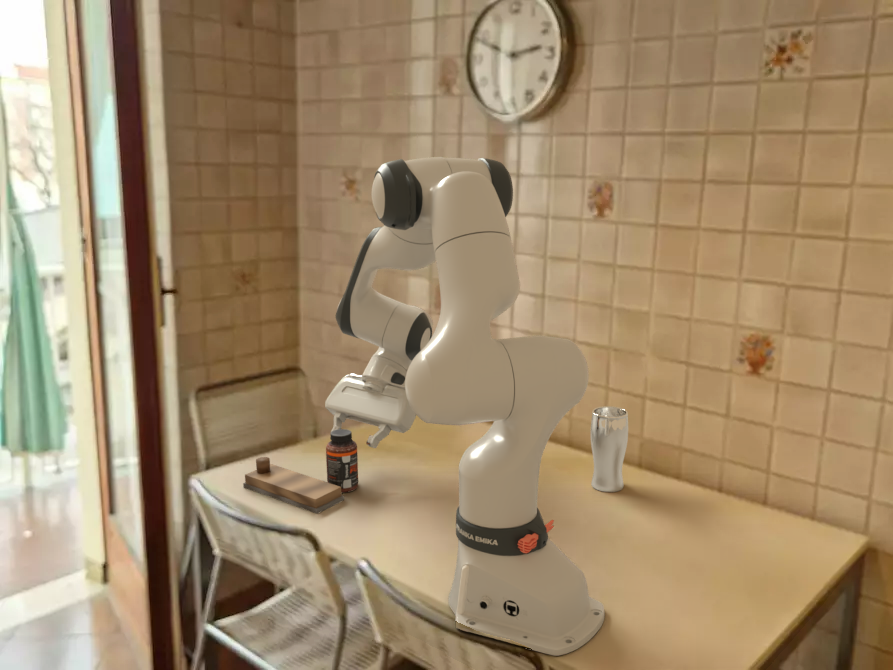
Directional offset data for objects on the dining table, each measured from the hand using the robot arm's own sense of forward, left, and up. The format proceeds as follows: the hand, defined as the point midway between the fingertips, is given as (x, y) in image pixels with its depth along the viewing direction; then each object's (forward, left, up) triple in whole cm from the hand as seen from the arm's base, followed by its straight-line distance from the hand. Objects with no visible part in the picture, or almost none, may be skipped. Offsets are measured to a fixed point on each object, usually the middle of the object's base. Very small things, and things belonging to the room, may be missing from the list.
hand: (352, 441), depth 160 cm
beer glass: (-41, -27, -9) cm, 50 cm away
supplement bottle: (0, +3, -9) cm, 9 cm away
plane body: (+6, +10, -9) cm, 15 cm away
